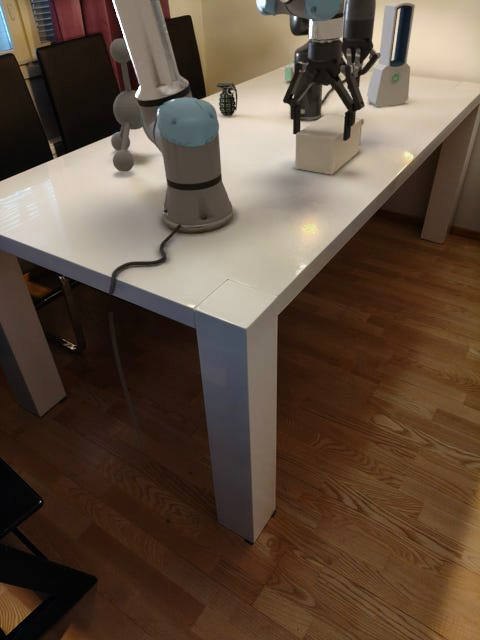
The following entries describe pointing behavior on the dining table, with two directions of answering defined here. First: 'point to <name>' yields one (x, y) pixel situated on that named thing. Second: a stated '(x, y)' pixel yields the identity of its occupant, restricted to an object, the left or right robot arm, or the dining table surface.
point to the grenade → (227, 99)
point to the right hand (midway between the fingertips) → (352, 91)
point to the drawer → (361, 129)
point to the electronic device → (391, 75)
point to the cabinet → (326, 145)
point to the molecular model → (124, 110)
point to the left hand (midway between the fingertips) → (321, 135)
